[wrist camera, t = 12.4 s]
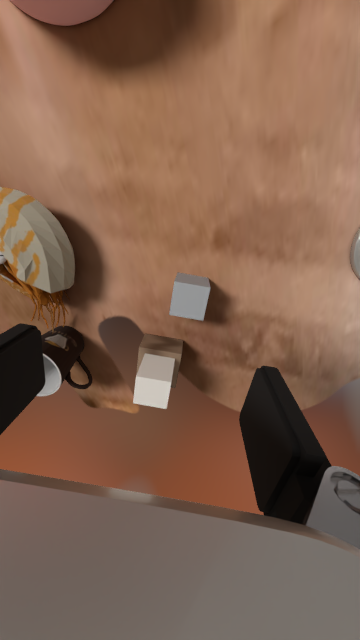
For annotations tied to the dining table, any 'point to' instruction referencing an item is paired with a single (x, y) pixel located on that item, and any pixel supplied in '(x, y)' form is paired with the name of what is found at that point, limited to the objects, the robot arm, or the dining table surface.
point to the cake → (63, 10)
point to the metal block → (162, 351)
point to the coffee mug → (61, 358)
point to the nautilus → (34, 251)
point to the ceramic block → (154, 381)
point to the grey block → (190, 296)
